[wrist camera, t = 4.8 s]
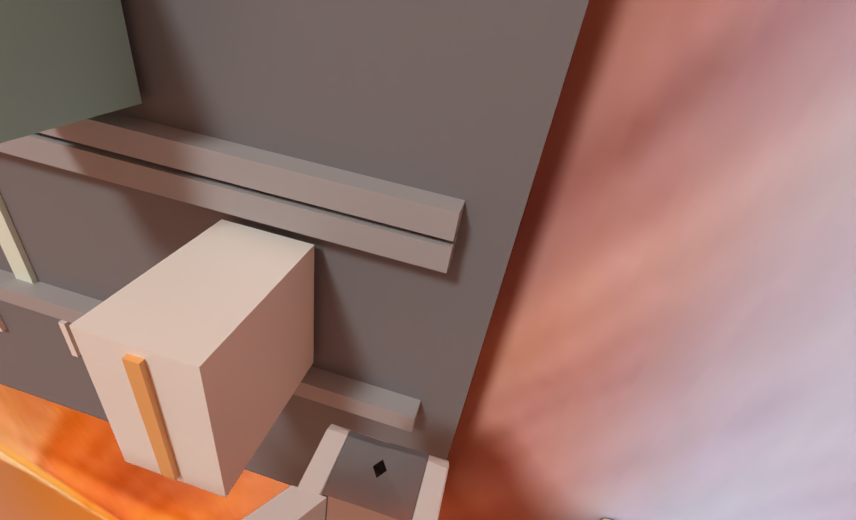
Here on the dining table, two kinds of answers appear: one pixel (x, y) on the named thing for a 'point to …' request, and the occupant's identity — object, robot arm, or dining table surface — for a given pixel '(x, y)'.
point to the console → (300, 193)
